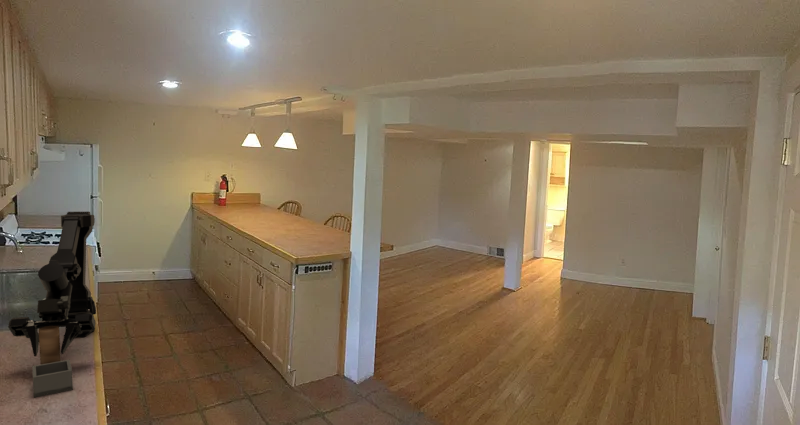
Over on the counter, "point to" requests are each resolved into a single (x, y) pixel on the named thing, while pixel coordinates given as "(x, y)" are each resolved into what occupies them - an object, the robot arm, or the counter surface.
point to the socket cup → (52, 378)
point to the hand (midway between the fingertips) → (48, 354)
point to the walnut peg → (49, 344)
